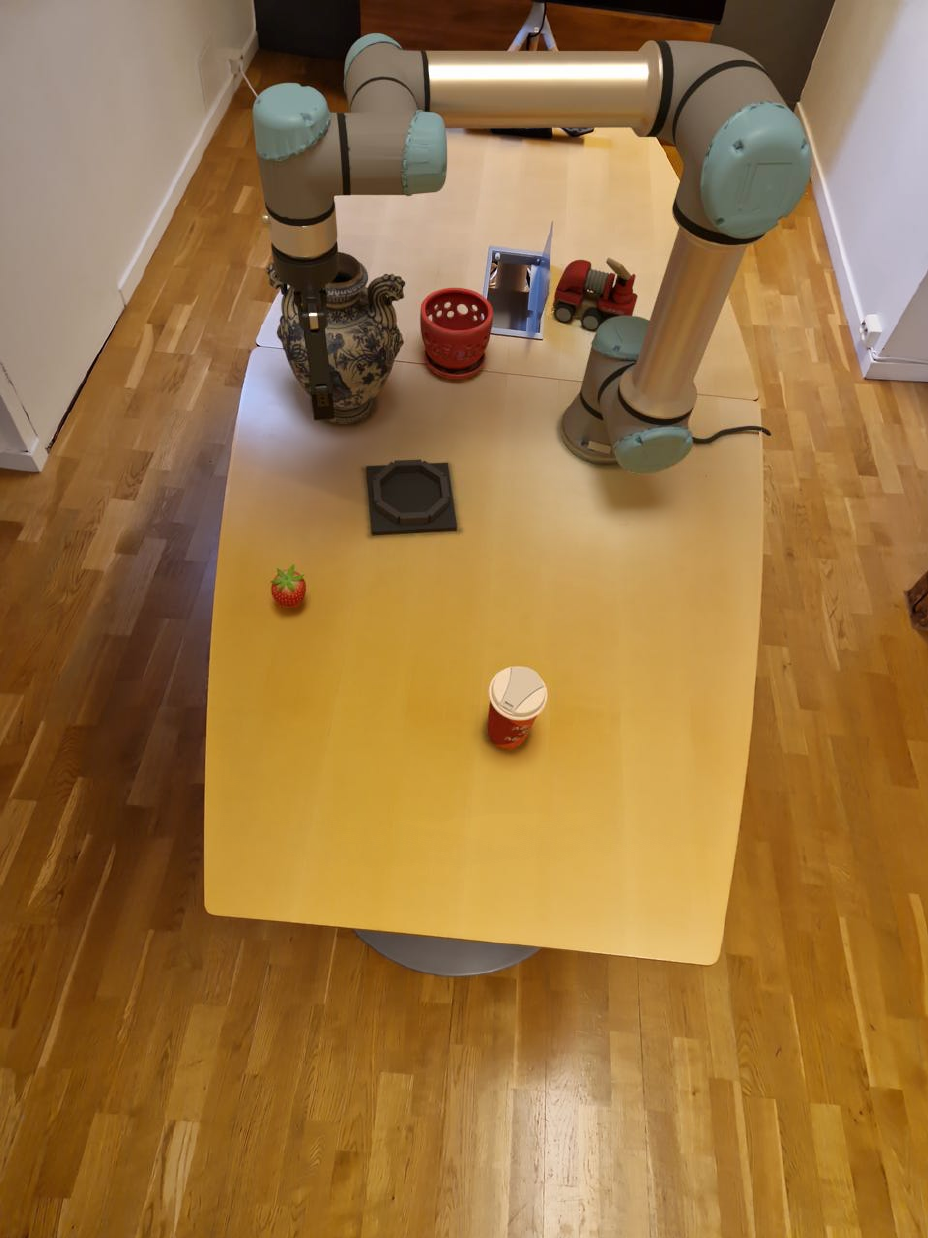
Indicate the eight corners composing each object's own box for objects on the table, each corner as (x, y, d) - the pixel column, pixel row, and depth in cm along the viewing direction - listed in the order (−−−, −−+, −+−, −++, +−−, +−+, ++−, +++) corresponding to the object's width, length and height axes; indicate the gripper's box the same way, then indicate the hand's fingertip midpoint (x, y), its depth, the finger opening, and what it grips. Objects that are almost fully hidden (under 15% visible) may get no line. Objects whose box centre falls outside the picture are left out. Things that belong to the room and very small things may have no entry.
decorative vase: (406, 371, 153) (409, 234, 129) (399, 445, 143) (401, 312, 119) (292, 362, 152) (273, 222, 128) (277, 436, 142) (253, 300, 118)
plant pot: (500, 356, 157) (507, 303, 146) (463, 395, 150) (468, 343, 140) (443, 328, 159) (446, 274, 149) (405, 365, 153) (405, 312, 143)
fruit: (310, 615, 124) (305, 587, 117) (275, 619, 123) (268, 591, 116) (307, 586, 127) (302, 557, 120) (273, 590, 126) (266, 560, 119)
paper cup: (516, 766, 114) (530, 727, 102) (469, 738, 116) (478, 696, 104) (543, 724, 118) (560, 680, 106) (497, 697, 119) (509, 651, 107)
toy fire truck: (560, 294, 167) (576, 213, 152) (632, 316, 166) (656, 236, 150) (543, 328, 162) (559, 248, 147) (618, 351, 160) (642, 272, 145)
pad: (447, 466, 141) (448, 454, 139) (456, 530, 134) (458, 519, 132) (366, 469, 140) (365, 457, 137) (371, 535, 133) (371, 524, 130)
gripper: (263, 175, 98) (285, 319, 116) (277, 317, 86) (298, 452, 104) (326, 173, 99) (337, 315, 117) (349, 312, 87) (357, 447, 105)
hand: (319, 380), depth 111 cm, fingers open, 13 cm apart
